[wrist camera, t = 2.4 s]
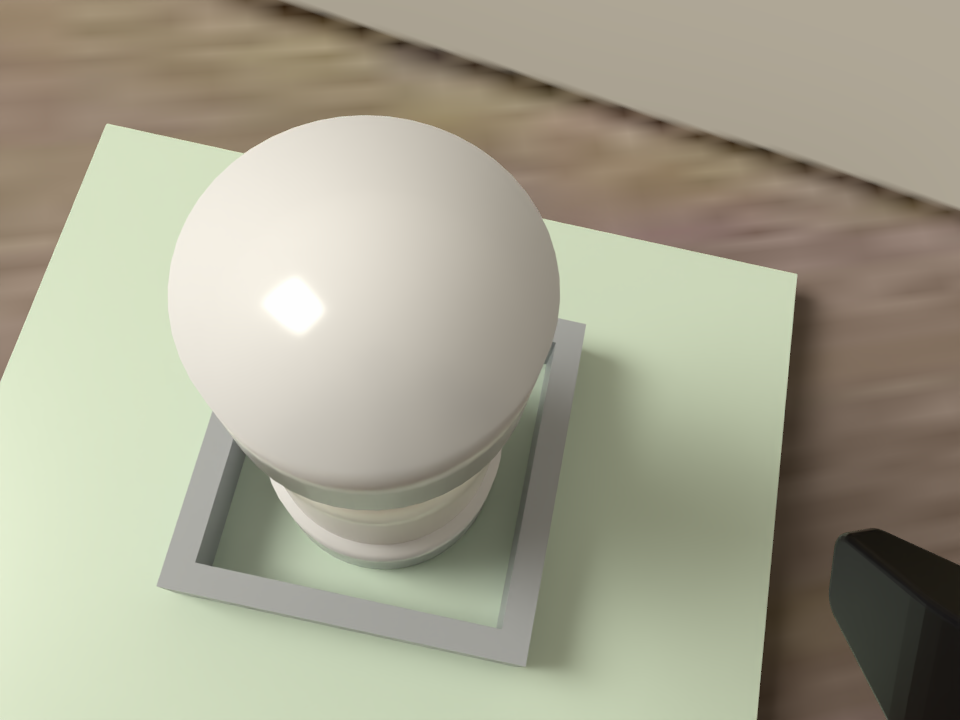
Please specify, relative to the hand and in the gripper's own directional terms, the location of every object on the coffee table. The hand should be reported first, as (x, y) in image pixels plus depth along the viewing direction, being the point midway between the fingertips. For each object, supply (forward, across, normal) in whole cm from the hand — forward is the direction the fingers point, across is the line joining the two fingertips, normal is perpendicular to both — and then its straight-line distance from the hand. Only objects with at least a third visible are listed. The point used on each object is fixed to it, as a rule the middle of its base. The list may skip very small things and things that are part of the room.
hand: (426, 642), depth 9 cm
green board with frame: (+11, 0, +5) cm, 12 cm away
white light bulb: (+11, 0, +4) cm, 12 cm away
